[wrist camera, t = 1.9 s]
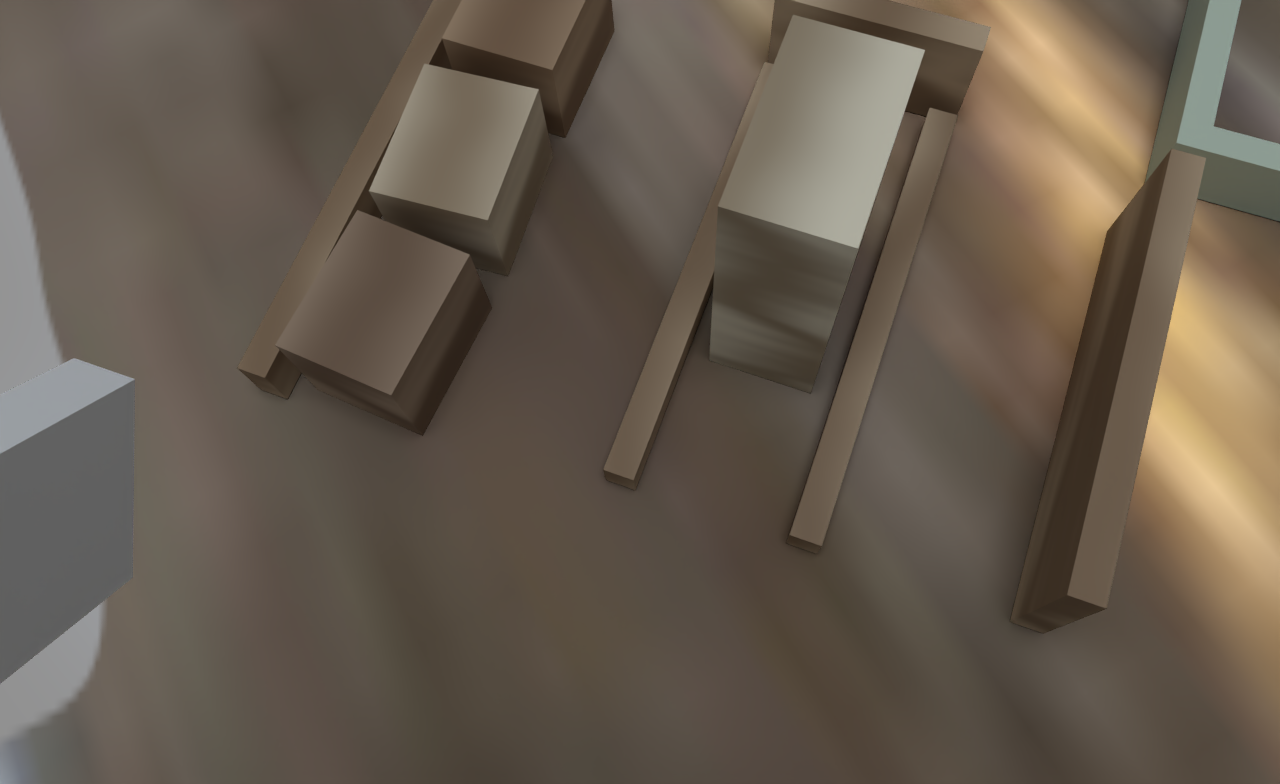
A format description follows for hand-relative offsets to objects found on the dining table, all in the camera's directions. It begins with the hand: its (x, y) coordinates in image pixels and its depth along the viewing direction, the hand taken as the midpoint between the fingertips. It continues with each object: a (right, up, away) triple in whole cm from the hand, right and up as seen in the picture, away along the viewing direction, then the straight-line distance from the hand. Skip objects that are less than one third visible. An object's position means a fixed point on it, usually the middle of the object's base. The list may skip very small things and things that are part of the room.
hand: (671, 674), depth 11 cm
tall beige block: (+5, +6, +24) cm, 25 cm away
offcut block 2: (-6, +10, +26) cm, 28 cm away
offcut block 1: (-4, +15, +28) cm, 32 cm away
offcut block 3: (-8, +4, +24) cm, 26 cm away
